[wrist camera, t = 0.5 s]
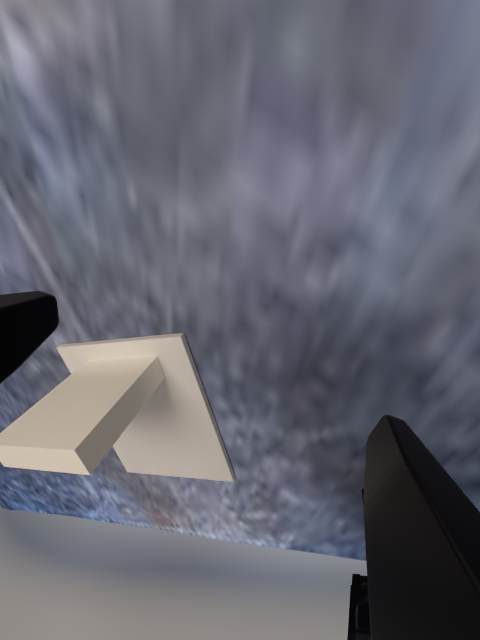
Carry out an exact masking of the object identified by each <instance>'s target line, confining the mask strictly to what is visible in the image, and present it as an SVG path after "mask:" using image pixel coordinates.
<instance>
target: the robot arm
mask: <svg viewBox="0 0 480 640" xmlns="http://www.w3.org/2000/svg"><path fill="white" fill-rule="evenodd" d="M58 324H59V316H58V307H57V300H56V298H55V297H54V296H53V295H51V294H48V293H45V292H42V291H33V292H23V293H14V294H5V295H0V384H1V383H2V382H3V381H4V380H6V379H7V378H8V377H9V376H10V375H11V374H12V373H14V372H15V371H16V370H17V369H18V368H19V367H20V366H21V365H22V364H23V363H24V362H25V361H26V360H27V359H28V358H29V357H30V356H31V355H32V354H33V353H34V351H35V350H36V349H37V348H38V347H39V346H40V345H41V344H42V343H43V342H44V341H45V340H46V339H47V338H48V337H49V336H50V335H51V334H52V333H53V332H54V331H55V330H56V328H57V326H58ZM362 497H363V506H364V526H365V543H366V560H367V576H360V574H353V577H352V585H351V592H350V608H349V626H348V639H347V640H480V512H479V511H478V510H477V508H476V507H475V506H474V505H473V503H472V502H471V501H470V500H469V499H468V497H467V496H466V495H465V494H464V493H463V491H462V490H461V489H460V488H459V487H458V485H457V484H456V483H455V482H454V480H453V479H452V478H451V477H450V476H449V474H448V473H447V472H446V471H445V470H444V468H443V467H442V466H441V465H440V464H439V462H438V461H437V460H436V459H435V458H434V456H433V455H432V454H431V453H430V451H429V450H428V449H427V448H426V447H425V445H424V444H423V443H422V442H421V441H420V439H419V438H418V437H417V436H416V435H415V433H414V432H413V431H412V430H411V428H410V427H409V426H408V425H407V424H406V423H405V421H403V420H401V419H399V418H396V417H393V416H390V415H384V416H383V417H382V418H381V419H380V421H379V422H378V424H377V425H376V427H375V428H374V430H373V431H372V432H371V434H370V435H369V437H368V440H367V447H366V466H365V485H364V489H362Z"/></svg>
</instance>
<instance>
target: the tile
mask: <svg viewBox="0 0 480 640" xmlns="http://www.w3.org/2000/svg"><path fill="white" fill-rule="evenodd" d="M164 378H165V374H164V372H163V369H162V367H161V364H160V362H159V359H158V357H157V356H153V357H138V358H123V359H108V360H93V361H87V362H86V363H84V364H83V365H82V366H81V367H80V368H78V369H77V370H76V371H75V372H74V373H72V374H71V375H70V376H69V377H67V378H66V379H65V380H64V381H63V382H61V383H60V384H59V385H58V386H57V387H55V388H54V389H53V390H52V391H51V392H49V393H48V394H47V395H46V396H45V397H43V398H42V399H41V400H40V401H39V402H37V403H36V404H35V405H34V406H32V407H31V408H30V409H29V410H28V411H26V412H25V413H24V414H23V415H22V416H20V417H19V418H18V419H17V420H16V421H14V422H13V423H12V424H11V425H10V426H8V427H7V428H6V429H5V430H4V431H2V432H1V433H0V462H1V463H2V464H3V465H4V467H14V468H24V469H34V470H44V471H54V472H64V473H74V474H84V475H91V474H92V473H93V471H94V470H95V469H96V467H97V466H98V465H99V463H100V462H101V461H102V459H103V458H104V457H105V455H106V454H107V453H108V451H109V450H110V449H111V447H112V446H113V445H114V444H115V442H116V441H117V440H118V438H119V437H120V436H121V434H122V433H123V432H124V430H125V429H126V428H127V426H128V425H129V424H130V422H131V421H132V420H133V419H134V417H135V416H136V415H137V413H138V412H139V411H140V409H141V408H142V407H143V405H144V404H145V403H146V401H147V400H148V399H149V397H150V396H151V395H152V394H153V392H154V391H155V390H156V388H157V387H158V386H159V384H160V383H161V382H162V380H163V379H164Z"/></svg>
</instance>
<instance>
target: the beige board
mask: <svg viewBox="0 0 480 640" xmlns="http://www.w3.org/2000/svg"><path fill="white" fill-rule="evenodd" d="M56 348H57V350H58V352H59V353H60V355H61V357H62V359H63V360H64V362H65V364H66V366H67V367H68V369H69V371H70V373H71V374H72V373H74V372H75V371H76V370H77V369H78V368H80V367H81V366H82V365H83V364H84V363H86V362H87V361H93V360H108V359H123V358H138V357H153V356H157V357H158V359H159V362H160V364H161V367H162V369H163V372H164V374H165V378H164V379H163V380H162V382H161V383H160V384H159V386H158V387H157V388H156V390H155V391H154V392H153V394H152V395H151V396H150V397H149V399H148V400H147V401H146V403H145V404H144V405H143V407H142V408H141V409H140V411H139V412H138V413H137V415H136V416H135V417H134V419H133V420H132V421H131V422H130V424H129V425H128V426H127V428H126V429H125V430H124V432H123V433H122V434H121V436H120V437H119V438H118V440H117V441H116V442H115V444H114V445H113V448H114V450H115V451H116V453H117V455H118V457H119V458H120V460H121V462H122V464H123V465H124V467H125V469H126V471H127V472H132V473H143V474H154V475H165V476H176V477H187V478H198V479H209V480H220V481H231V482H234V479H235V474H234V472H233V469H232V466H231V463H230V461H229V458H228V455H227V452H226V449H225V447H224V444H223V441H222V438H221V436H220V433H219V430H218V427H217V424H216V422H215V419H214V416H213V413H212V411H211V408H210V405H209V402H208V399H207V397H206V394H205V391H204V388H203V386H202V383H201V380H200V377H199V374H198V372H197V369H196V366H195V363H194V361H193V358H192V355H191V352H190V349H189V347H188V344H187V341H186V338H185V335H184V333H176V334H166V335H155V336H145V337H134V338H123V339H113V340H102V341H92V342H81V343H71V344H61V345H59V346H58V347H56Z"/></svg>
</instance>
